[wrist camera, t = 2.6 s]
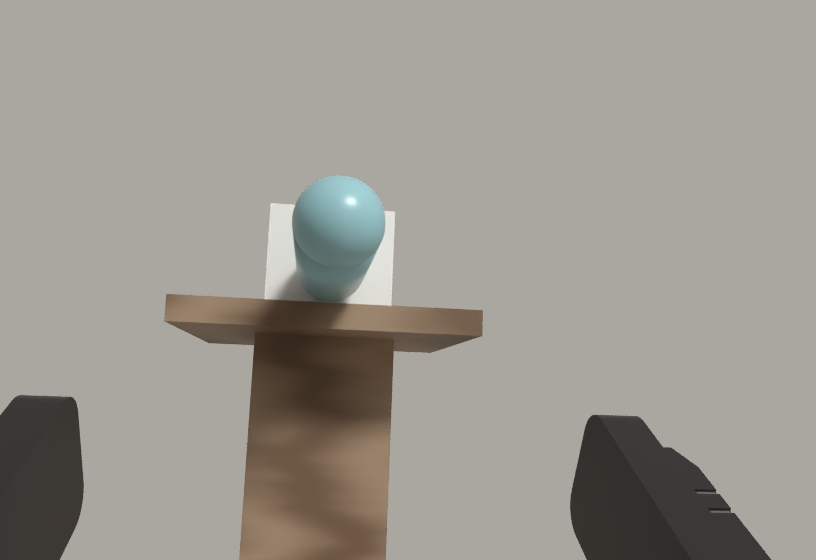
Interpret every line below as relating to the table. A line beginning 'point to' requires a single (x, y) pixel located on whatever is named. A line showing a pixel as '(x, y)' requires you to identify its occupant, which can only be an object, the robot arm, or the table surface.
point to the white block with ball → (331, 246)
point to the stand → (318, 414)
